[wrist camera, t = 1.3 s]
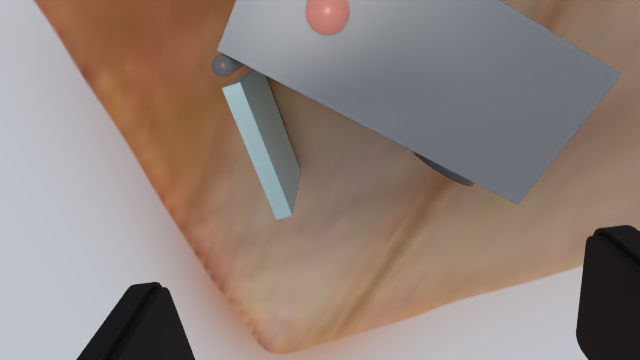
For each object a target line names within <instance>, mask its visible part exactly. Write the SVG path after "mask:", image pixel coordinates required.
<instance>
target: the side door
mask: <svg viewBox="0 0 640 360" xmlns="http://www.w3.org/2000/svg"><path fill="white" fill-rule="evenodd" d="M222 90H223V92H224V95H225V97H226V100H227V102H228V104H229V107H230V109H231V112H232V114H233V117H234V119H235V121H236V124H237V126H238V129H239V131H240V134H241V136H242V138H243V141H244V143H245V146H246V148H247V150H248V153H249V155H250V158H251V160H252V163H253V165H254V167H255V170H256V172H257V175H258V177H259V180H260V182H261V184H262V187H263V189H264V192H265V194H266V196H267V199H268V202H269V204H270V206H271V209H272V211H273V213H274V216H275V218H276V220H279V219H283V218H286V217H290V216H293V210H294V205H295V200H296V195H297V190H298V185H299V180H300V175H301V171H300V168H299V165H298V162H297V160H296V157H295V154H294V152H293V149H292V146H291V143H290V141H289V138H288V135H287V132H286V130H285V127H284V124H283V122H282V119H281V116H280V113H279V111H278V108H277V105H276V103H275V100H274V97H273V94H272V92H271V89H270V86H269V83H268V81H267V78H266V75H264V74H262V73H260V72H258V71H256V70H254V69H252V68H251V69H248V70H247V71H245V72H244V73H242V74H241V75H240V76H238V77H237V78H235V79H234V80H233V81H231V82H230V83H228V84H227V85H226V86H224V87H223V88H222Z"/></svg>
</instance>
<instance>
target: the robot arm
mask: <svg viewBox="0 0 640 360" xmlns="http://www.w3.org/2000/svg"><path fill="white" fill-rule="evenodd" d="M576 337H577V341H578V344H579V346H580V348H581V350H582V352H583V353H584V354H585V356H586V357H587V358H588V360H640V231H638V230H637V229H635V228H634V227H632V226H630V225H622V226H614V227H606V228H599V229H597V230H596V231H595V232H594V234H593V236H590V237H588V239H587V241H586V247H585V256H584V265H583V275H582V284H581V293H580V302H579V311H578V320H577V329H576ZM77 360H195V358H194V355H193V353H192V350H191V347H190V345H189V342H188V339H187V337H186V334H185V331H184V329H183V326H182V324H181V321H180V318H179V315H178V313H177V310H176V307H175V305H174V303H173V300H172V297H171V294H170V292H169V290H168V289H167V288H165V287H163V288H162V286H161V285H160V284H159V283H158V282H152V283H143V284H135V285H132V286H130V287H129V288H128V289H127V291H126V292H125V293H124V295H123V296H122V298H121V299H120V300H119V302H118V303H117V305H116V306H115V307H114V309H113V310H112V311H111V313H110V314H109V316H108V317H107V318H106V320H105V321H104V323H103V324H102V325H101V327H100V328H99V329H98V331H97V332H96V333H95V335H94V336H93V338H92V339H91V340H90V342H89V343H88V344H87V346H86V347H85V349H84V350H83V351H82V353H81V354H80V356H79V357H78V358H77Z"/></svg>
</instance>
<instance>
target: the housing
mask: <svg viewBox="0 0 640 360" xmlns="http://www.w3.org/2000/svg"><path fill="white" fill-rule="evenodd" d="M217 51H219V52H221V53H223V55H220V56H218V57H216V58H215V59H214V60H213V62H212V69H213V71H214V72H215V74H217V75H218V76H221V77H225V76H228V75H229V74H231V73H232V72H234V71H235V70H237V69H239V68H240V67H242V66H243V65H247V66H248V67H250V68H252V69H254V70H256V71H258V72H260V73H262V74H264V75H266V76H268V77H270V78H272V79H274V80H276V81H278V82H280V83H282V84H283V85H285V86H287V87H289V88H291V89H293V90H295V91H297V92H299V93H301V94H303V95H305V96H307V97H309V98H311V99H313V100H315V101H317V102H318V103H320V104H322V105H324V106H326V107H328V108H330V109H332V110H334V111H336V112H338V113H340V114H342V115H344V116H346V117H348V118H350V119H352V120H353V121H355V122H357V123H359V124H361V125H363V126H365V127H367V128H369V129H371V130H373V131H375V132H377V133H379V134H381V135H383V136H385V137H387V138H388V139H390V140H392V141H394V142H396V143H398V144H400V145H402V146H404V147H406V148H408V149H410V150H412V151H413V152H414V153H415V154H416V155H417V156H418V157H419V158H420V159H421V160H422V161H424V162H425V163H426V164H428V165H429V166H430V167H432V168H433V169H435V170H436V171H438V172H440V173H441V174H443V175H445V176H446V177H448V178H450V179H452V180H454V181H456V182H458V183H461V184H464V185H467V186H473V184H474V183H476V184H478V185H480V186H482V187H484V188H486V189H488V190H490V191H492V192H493V193H495V194H497V195H499V196H501V197H503V198H505V199H507V200H509V201H511V202H513V203H515V204H517V205H518V204H519V203H520V201H521V200H522V199H523V198H524V196H525V195H526V194H527V193H528V191H529V190H530V189H531V188H532V186H533V185H534V184H535V183H536V181H537V180H538V179H539V178H540V176H541V175H542V174H543V173H544V171H545V170H546V169H547V168H548V166H549V165H550V164H551V163H552V161H553V160H554V159H555V158H556V156H557V155H558V154H559V153H560V151H561V150H562V149H563V148H564V146H565V145H566V144H567V143H568V141H569V140H570V139H571V138H572V136H573V135H574V134H575V133H576V131H577V130H578V129H579V127H580V126H581V125H582V124H583V122H584V121H585V120H586V119H587V117H588V116H589V115H590V114H591V112H592V111H593V110H594V109H595V107H596V106H597V105H598V104H599V102H600V101H601V100H602V99H603V97H604V96H605V95H606V94H607V92H608V91H609V90H610V89H611V87H612V86H613V85H614V84H615V82H616V81H617V80H618V79H619V77H620V76H621V75H622V74H621V73H619V72H617V71H616V70H614V69H612V68H611V67H609V66H608V65H606V64H604V63H603V62H601V61H599V60H598V59H596V58H594V57H593V56H591V55H589V54H588V53H586V52H584V51H583V50H581V49H579V48H578V47H576V46H574V45H573V44H571V43H570V42H568V41H566V40H565V39H563V38H561V37H560V36H558V35H556V34H555V33H553V32H551V31H550V30H548V29H546V28H545V27H543V26H541V25H540V24H538V23H537V22H535V21H533V20H532V19H530V18H528V17H527V16H525V15H523V14H522V13H520V12H518V11H517V10H515V9H513V8H512V7H510V6H508V5H507V4H505V3H503V2H502V1H500V0H236V3H235V5H234V8H233V10H232V13H231V16H230V18H229V21H228V23H227V26H226V28H225V31H224V34H223V36H222V39H221V41H220V44H219V46H218V49H217Z"/></svg>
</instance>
